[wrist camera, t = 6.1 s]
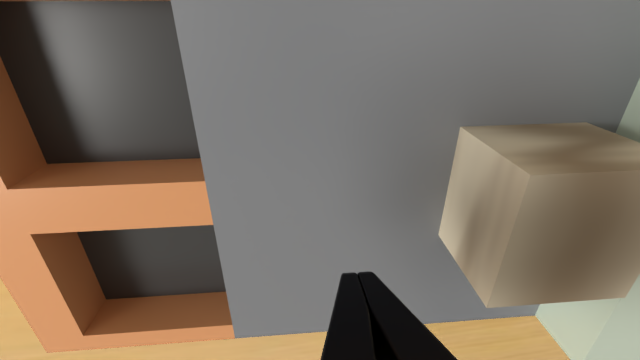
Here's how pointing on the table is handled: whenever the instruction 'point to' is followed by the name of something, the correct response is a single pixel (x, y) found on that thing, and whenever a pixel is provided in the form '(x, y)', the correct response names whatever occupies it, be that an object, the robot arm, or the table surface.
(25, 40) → the trap deck
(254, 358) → the table surface
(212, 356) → the table surface
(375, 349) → the robot arm
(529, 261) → the birch block
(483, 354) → the table surface
